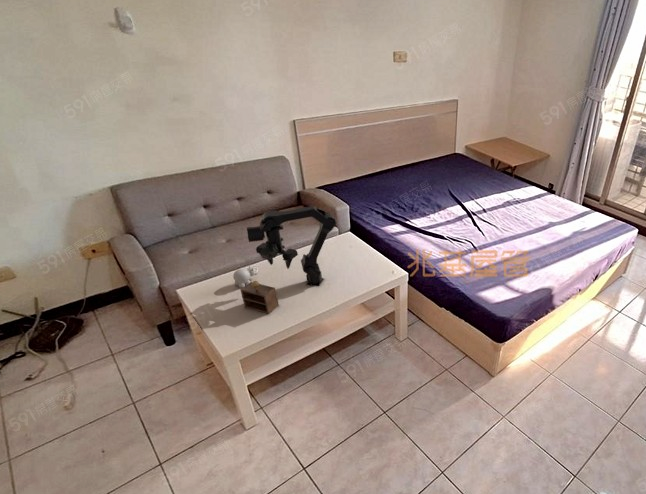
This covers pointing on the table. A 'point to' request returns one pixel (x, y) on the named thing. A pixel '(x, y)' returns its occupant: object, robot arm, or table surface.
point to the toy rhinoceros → (244, 276)
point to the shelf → (259, 297)
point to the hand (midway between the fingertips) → (280, 266)
